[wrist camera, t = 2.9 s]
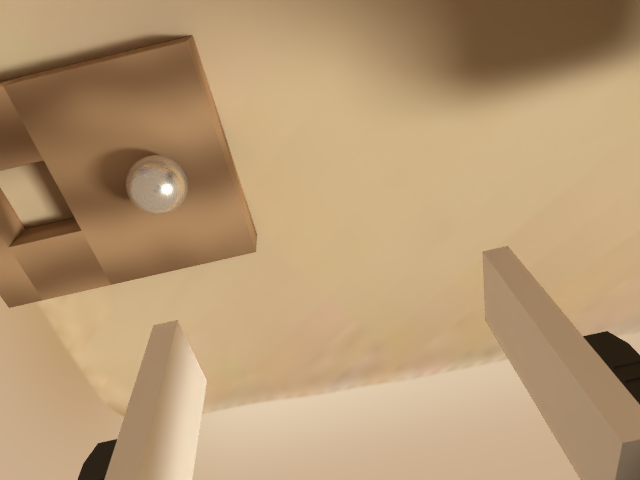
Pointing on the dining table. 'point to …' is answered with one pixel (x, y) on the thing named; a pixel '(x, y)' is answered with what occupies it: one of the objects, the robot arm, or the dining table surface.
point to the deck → (117, 172)
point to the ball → (156, 185)
